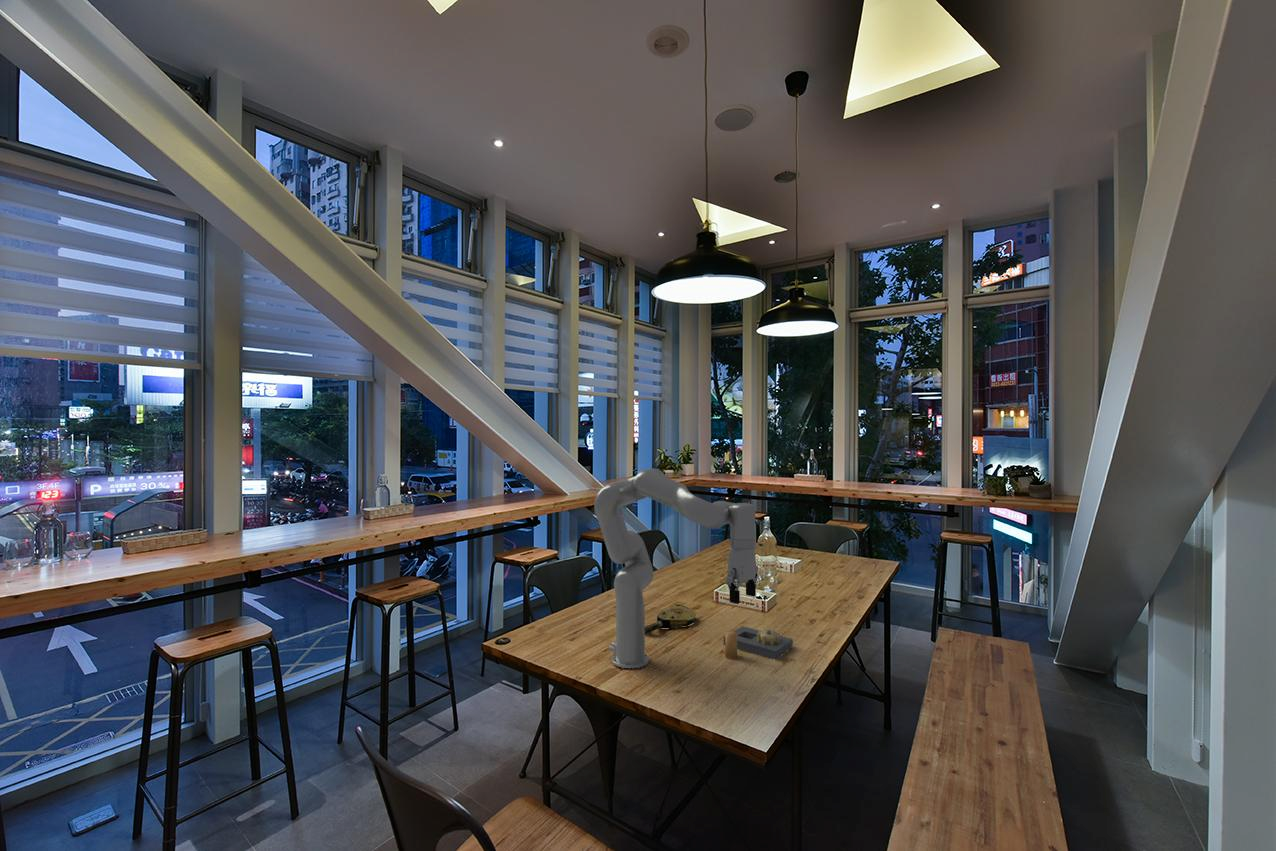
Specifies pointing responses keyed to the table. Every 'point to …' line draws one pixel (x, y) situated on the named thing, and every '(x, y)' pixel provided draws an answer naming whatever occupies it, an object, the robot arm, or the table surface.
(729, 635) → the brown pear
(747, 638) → the housing
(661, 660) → the table surface
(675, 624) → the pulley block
